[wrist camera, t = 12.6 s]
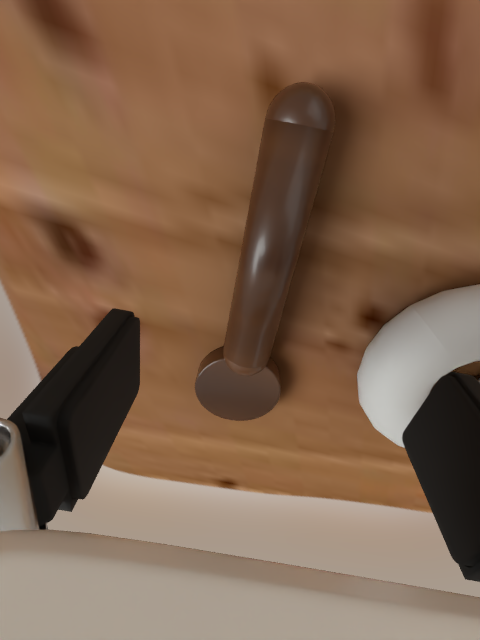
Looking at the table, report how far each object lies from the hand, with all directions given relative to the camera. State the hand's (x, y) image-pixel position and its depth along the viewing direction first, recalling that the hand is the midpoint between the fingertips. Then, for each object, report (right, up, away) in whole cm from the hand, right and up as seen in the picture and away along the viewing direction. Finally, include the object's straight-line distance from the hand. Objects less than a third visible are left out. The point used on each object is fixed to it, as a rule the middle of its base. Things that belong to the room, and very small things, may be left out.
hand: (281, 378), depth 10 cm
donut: (+10, 0, +7) cm, 12 cm away
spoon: (-1, +2, +6) cm, 7 cm away
